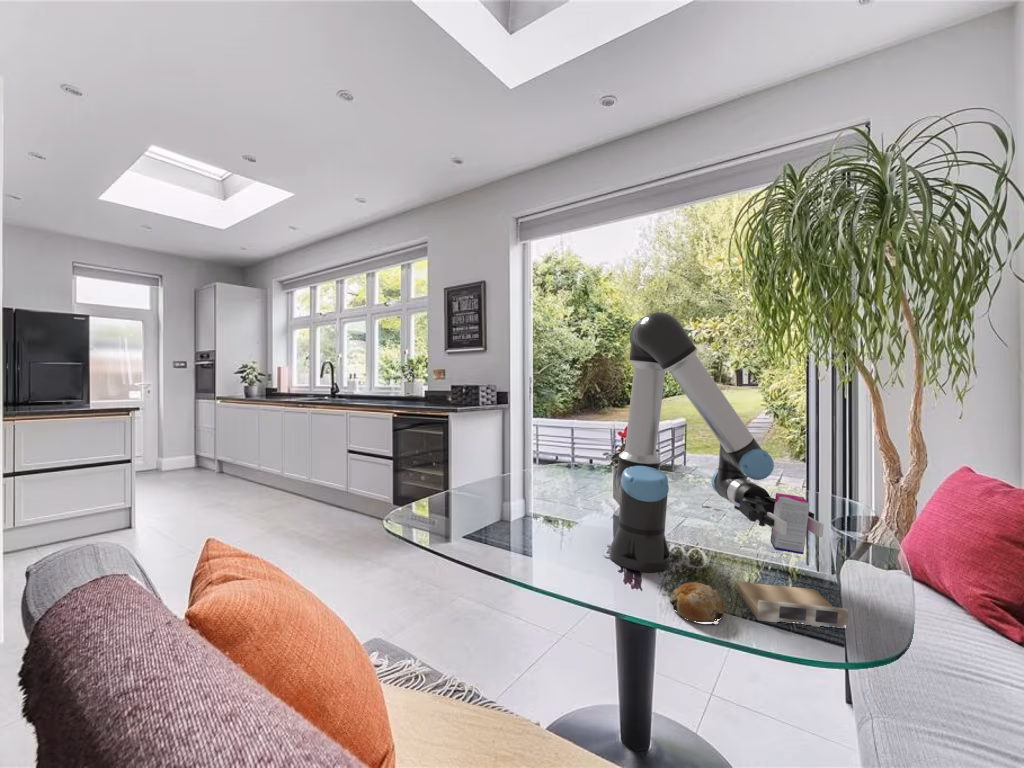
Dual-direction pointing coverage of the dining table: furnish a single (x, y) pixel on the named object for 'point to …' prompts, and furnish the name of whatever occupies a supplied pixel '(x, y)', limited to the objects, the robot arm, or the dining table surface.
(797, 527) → the supplement box
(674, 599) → the bread roll
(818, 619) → the tan slab
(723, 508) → the dining table surface
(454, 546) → the dining table surface
